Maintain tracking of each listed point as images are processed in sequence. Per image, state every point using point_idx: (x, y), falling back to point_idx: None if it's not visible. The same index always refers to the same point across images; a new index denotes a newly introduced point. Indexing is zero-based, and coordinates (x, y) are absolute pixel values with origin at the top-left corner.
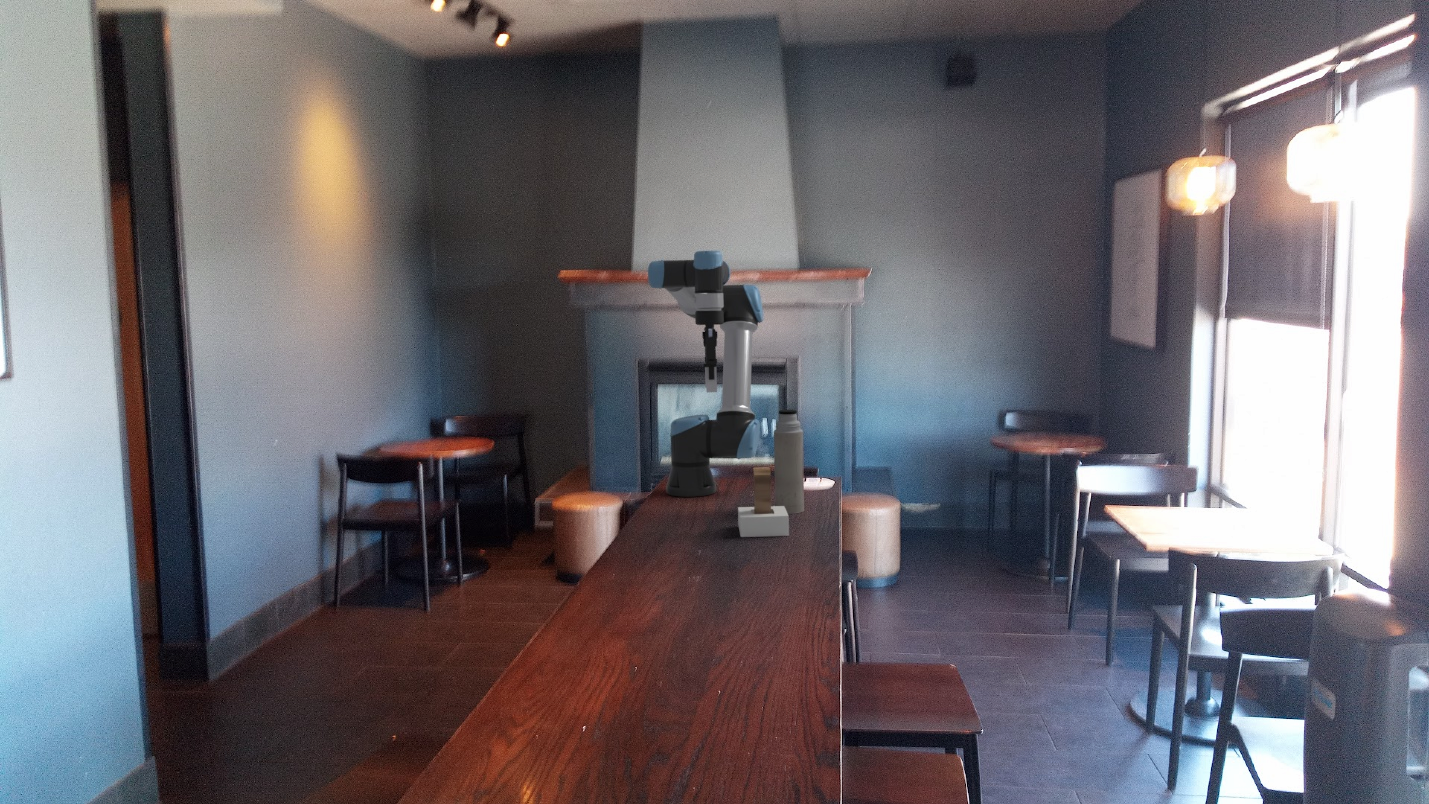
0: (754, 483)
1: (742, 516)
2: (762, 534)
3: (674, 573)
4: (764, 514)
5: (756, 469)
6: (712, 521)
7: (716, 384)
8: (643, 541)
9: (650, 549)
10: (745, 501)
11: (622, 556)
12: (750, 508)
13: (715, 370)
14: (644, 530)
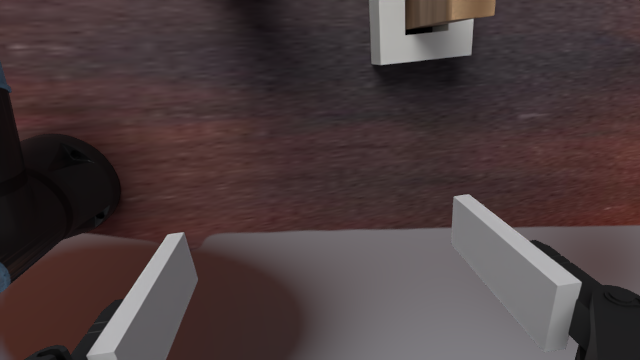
0: (466, 19)
1: (464, 51)
2: None
3: (630, 137)
4: None
5: (481, 9)
6: (329, 115)
7: (492, 215)
8: None
9: (500, 186)
10: (140, 61)
11: (528, 214)
12: (394, 37)
13: (558, 271)
14: (386, 213)
